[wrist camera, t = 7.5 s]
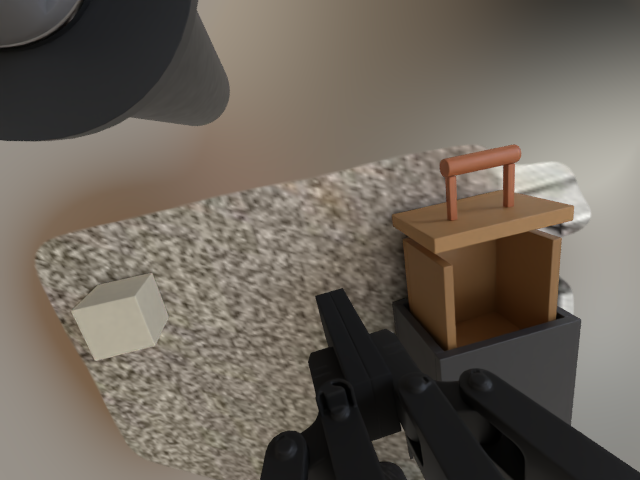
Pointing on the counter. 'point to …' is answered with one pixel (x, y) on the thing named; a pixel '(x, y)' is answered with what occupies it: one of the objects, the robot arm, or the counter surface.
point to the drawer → (482, 256)
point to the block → (121, 316)
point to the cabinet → (505, 357)
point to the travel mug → (392, 471)
